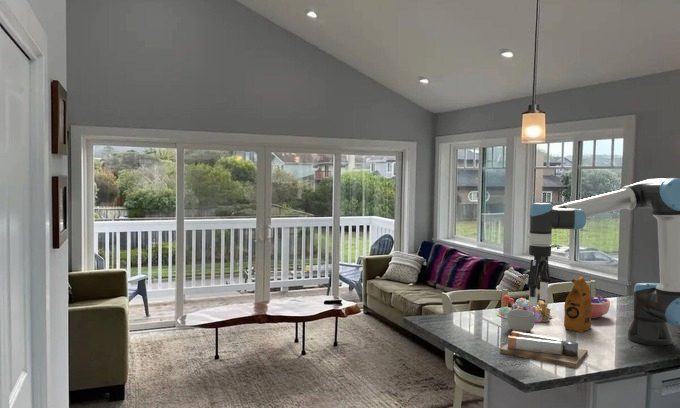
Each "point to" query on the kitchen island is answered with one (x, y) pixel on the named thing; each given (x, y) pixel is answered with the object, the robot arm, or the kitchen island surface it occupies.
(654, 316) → the robot arm
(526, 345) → the tongs arm
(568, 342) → the tongs fixed
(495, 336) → the kitchen island surface
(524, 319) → the teacup
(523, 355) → the board
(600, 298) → the cell model
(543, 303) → the candy landscape model
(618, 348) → the kitchen island surface
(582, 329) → the coffee package
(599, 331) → the kitchen island surface
